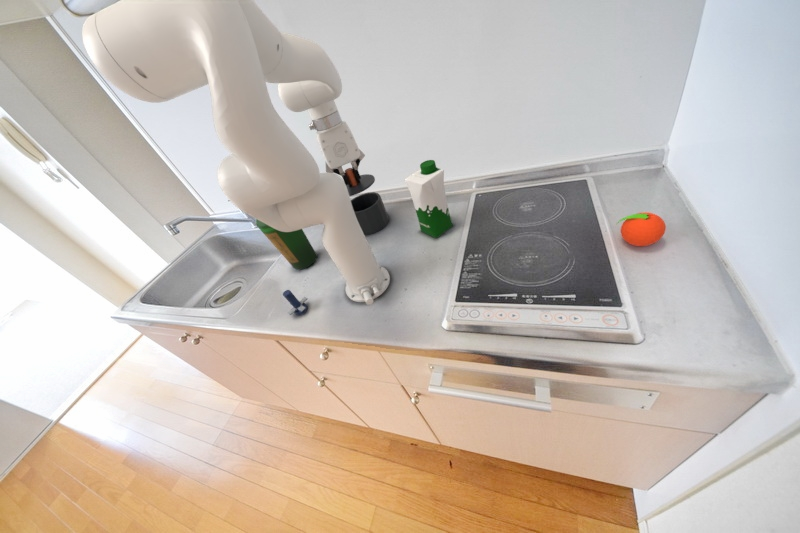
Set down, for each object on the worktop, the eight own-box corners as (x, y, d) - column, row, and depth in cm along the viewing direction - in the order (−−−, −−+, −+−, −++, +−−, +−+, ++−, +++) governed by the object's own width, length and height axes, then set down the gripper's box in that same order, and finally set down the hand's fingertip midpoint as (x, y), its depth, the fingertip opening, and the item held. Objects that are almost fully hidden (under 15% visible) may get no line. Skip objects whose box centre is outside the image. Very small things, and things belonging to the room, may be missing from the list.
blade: (312, 312, 71) (297, 294, 66) (292, 322, 71) (275, 305, 66) (310, 298, 76) (296, 280, 71) (291, 308, 75) (275, 290, 70)
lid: (380, 185, 81) (373, 166, 77) (340, 203, 80) (331, 185, 76) (369, 173, 91) (362, 156, 87) (333, 189, 90) (325, 172, 86)
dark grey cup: (393, 224, 91) (385, 201, 85) (360, 239, 90) (349, 217, 84) (382, 210, 101) (374, 188, 95) (352, 224, 99) (342, 203, 93)
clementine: (611, 250, 58) (619, 224, 53) (610, 231, 62) (618, 204, 57) (660, 254, 54) (674, 226, 49) (657, 233, 58) (669, 205, 53)
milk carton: (457, 225, 80) (445, 161, 67) (435, 241, 78) (419, 178, 65) (437, 217, 87) (423, 157, 74) (416, 232, 84) (398, 172, 71)
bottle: (293, 257, 94) (240, 186, 76) (321, 247, 94) (274, 173, 76) (289, 277, 86) (229, 202, 68) (320, 266, 86) (267, 187, 68)
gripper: (301, 135, 69) (333, 198, 81) (357, 112, 71) (380, 176, 82) (299, 131, 75) (329, 190, 87) (351, 109, 77) (373, 170, 88)
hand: (354, 183), depth 84 cm, fingers closed on lid, 2 cm apart
